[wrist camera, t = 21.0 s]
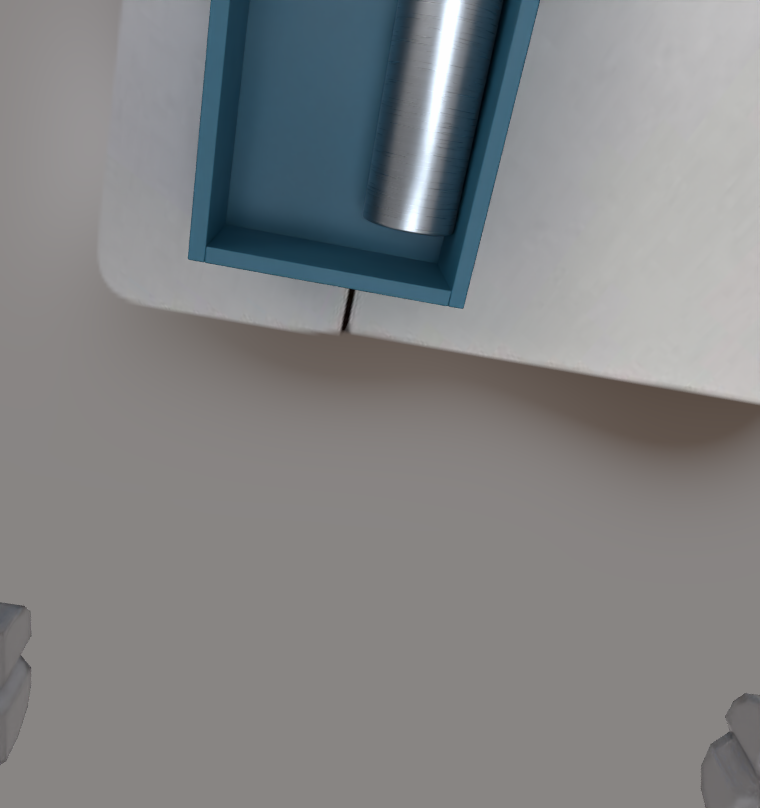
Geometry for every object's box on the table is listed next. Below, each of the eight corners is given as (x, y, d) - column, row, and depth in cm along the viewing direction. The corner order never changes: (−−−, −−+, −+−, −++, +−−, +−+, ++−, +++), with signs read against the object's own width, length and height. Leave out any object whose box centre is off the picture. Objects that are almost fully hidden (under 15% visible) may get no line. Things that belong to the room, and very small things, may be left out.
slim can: (367, 209, 40) (452, 226, 40) (356, 222, 35) (452, 241, 35) (435, -189, 33) (538, -170, 33) (432, -235, 28) (551, -213, 28)
